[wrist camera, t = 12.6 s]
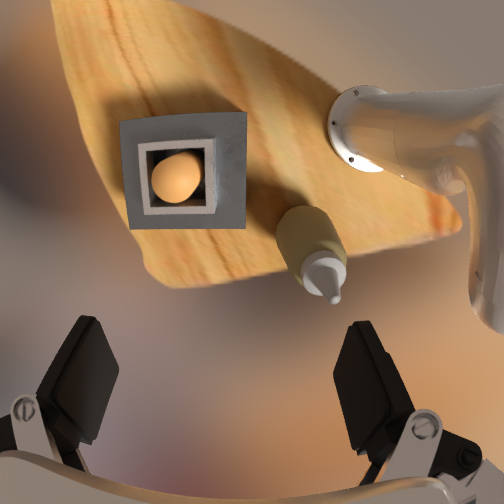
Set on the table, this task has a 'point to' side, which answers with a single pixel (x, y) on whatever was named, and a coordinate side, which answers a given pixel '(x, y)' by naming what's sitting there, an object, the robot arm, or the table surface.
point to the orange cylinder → (179, 175)
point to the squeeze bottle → (312, 251)
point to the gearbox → (209, 189)
